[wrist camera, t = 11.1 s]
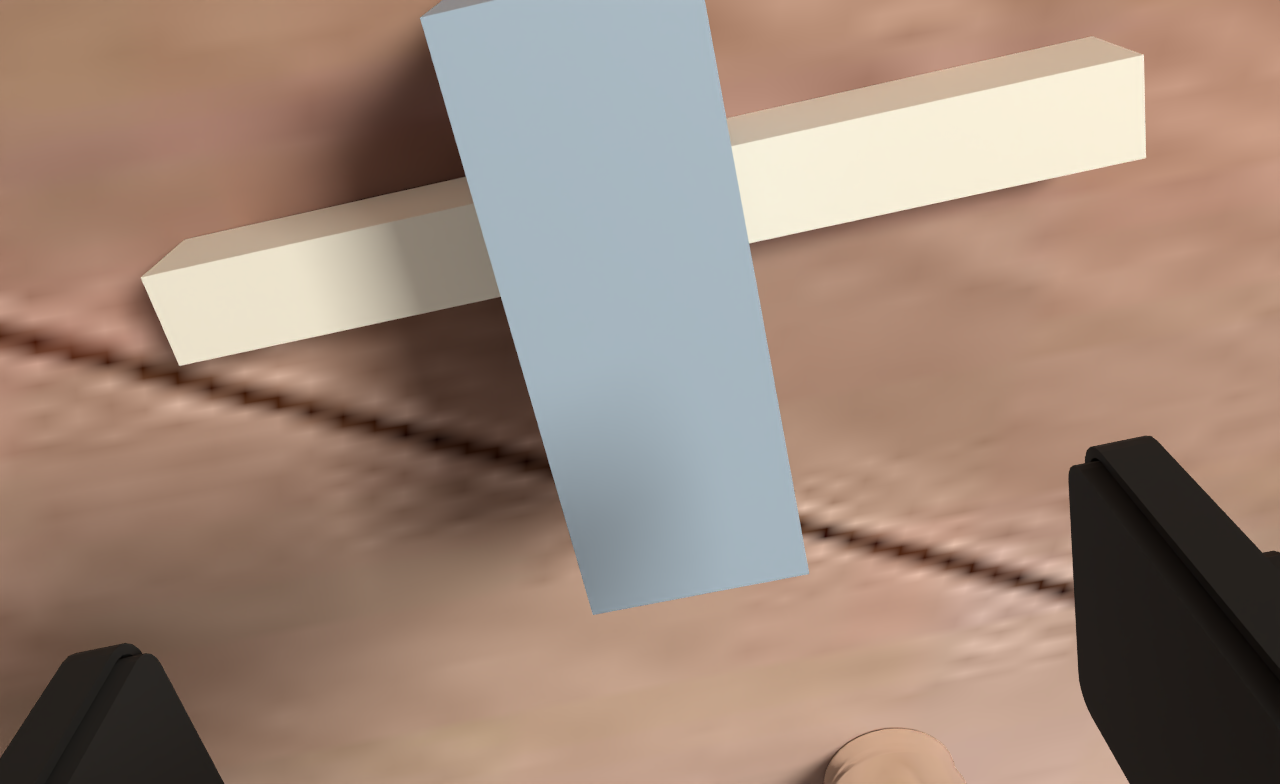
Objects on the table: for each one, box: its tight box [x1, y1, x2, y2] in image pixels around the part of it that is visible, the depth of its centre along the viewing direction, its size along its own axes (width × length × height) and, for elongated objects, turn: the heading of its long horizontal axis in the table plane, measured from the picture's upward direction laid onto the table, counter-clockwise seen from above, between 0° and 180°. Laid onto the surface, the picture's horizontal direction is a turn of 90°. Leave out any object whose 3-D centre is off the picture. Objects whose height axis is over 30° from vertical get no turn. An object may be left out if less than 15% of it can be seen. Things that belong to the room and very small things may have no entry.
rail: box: [141, 36, 1146, 366], centre depth 28 cm, size 2×24×3 cm, turn 102°
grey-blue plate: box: [420, 0, 809, 615], centre depth 25 cm, size 12×4×10 cm, turn 12°
